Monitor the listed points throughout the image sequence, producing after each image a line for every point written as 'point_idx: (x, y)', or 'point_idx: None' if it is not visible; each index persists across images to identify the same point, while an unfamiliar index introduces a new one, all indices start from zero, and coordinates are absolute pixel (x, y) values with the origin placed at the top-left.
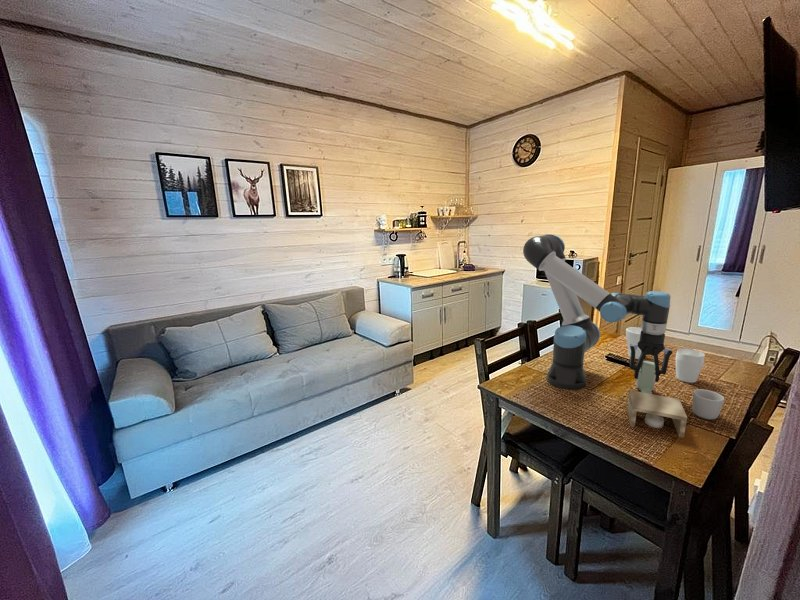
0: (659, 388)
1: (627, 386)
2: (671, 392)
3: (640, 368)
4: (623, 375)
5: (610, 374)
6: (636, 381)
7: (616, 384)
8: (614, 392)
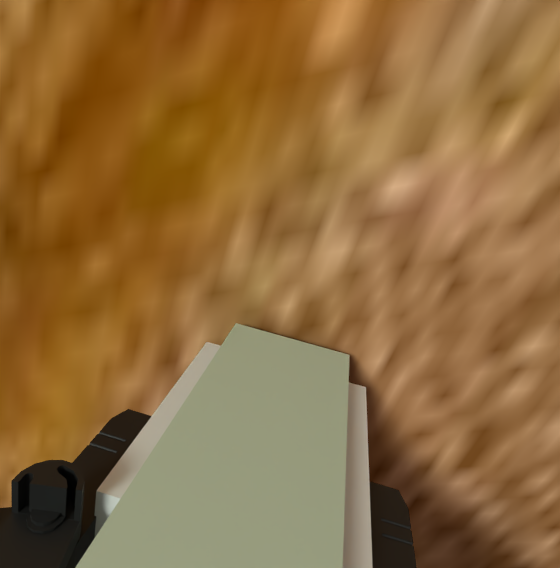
0: (463, 334)
1: (141, 327)
2: (547, 410)
3: (117, 518)
4: (155, 12)
5: (5, 20)
6: (192, 363)
7: (49, 298)
8: (23, 444)
